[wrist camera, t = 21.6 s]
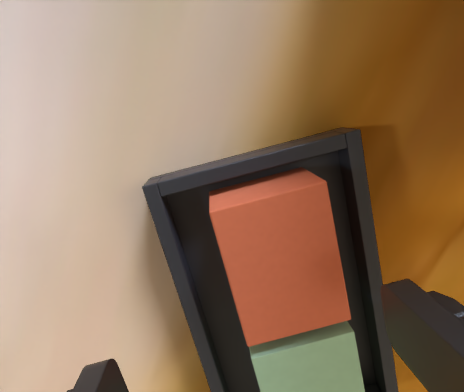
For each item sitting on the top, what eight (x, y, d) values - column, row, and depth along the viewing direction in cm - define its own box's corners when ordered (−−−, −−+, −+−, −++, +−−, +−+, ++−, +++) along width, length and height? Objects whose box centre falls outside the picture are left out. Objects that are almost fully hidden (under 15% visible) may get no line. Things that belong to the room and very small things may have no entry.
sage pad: (268, 403, 22) (281, 464, 19) (243, 312, 20) (251, 359, 17) (345, 383, 22) (374, 439, 19) (326, 290, 20) (354, 331, 17)
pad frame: (229, 420, 24) (231, 452, 21) (149, 178, 19) (141, 186, 17) (382, 379, 24) (401, 407, 21) (342, 126, 19) (360, 128, 17)
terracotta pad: (240, 303, 20) (247, 348, 16) (208, 191, 18) (208, 212, 14) (324, 280, 20) (352, 320, 16) (302, 166, 18) (327, 180, 15)
